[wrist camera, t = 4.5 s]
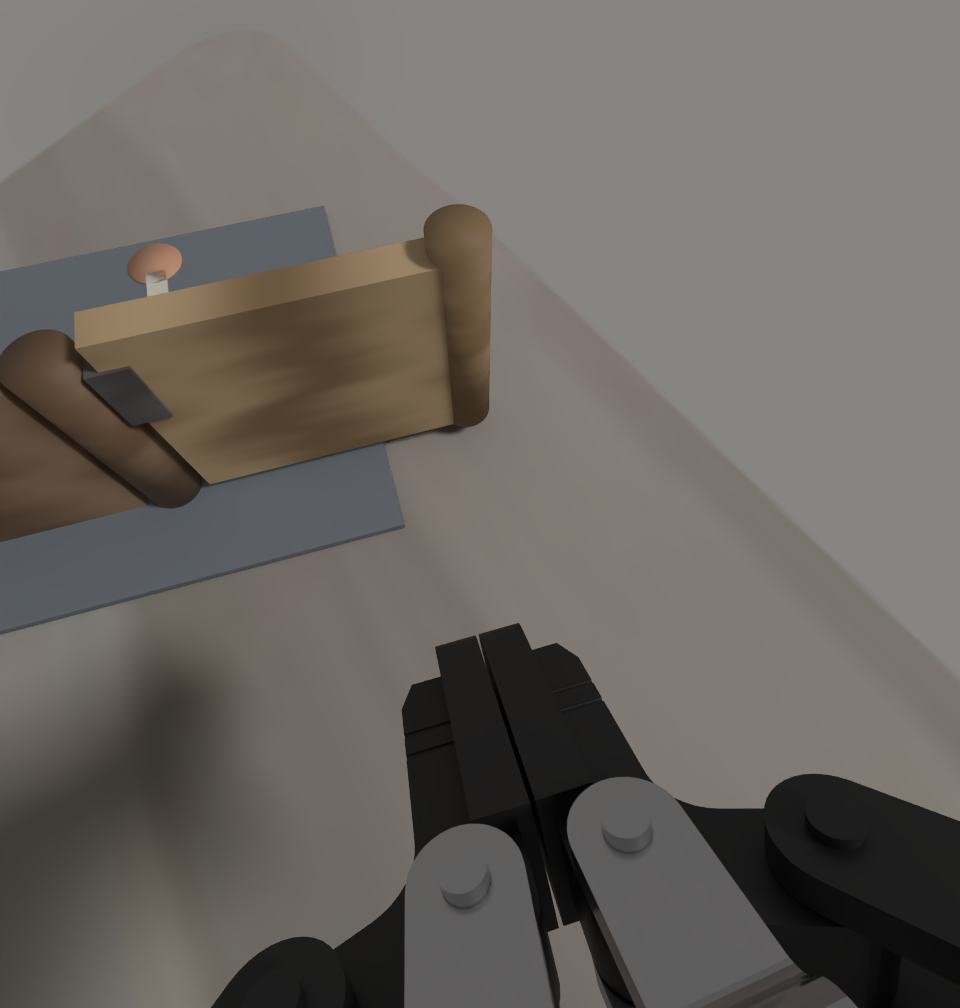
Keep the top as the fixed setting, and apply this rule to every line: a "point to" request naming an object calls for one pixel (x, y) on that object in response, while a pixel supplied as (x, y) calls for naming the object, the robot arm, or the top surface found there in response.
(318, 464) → the board
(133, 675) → the top surface
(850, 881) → the robot arm
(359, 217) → the top surface
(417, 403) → the fence gate
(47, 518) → the fence fixed
